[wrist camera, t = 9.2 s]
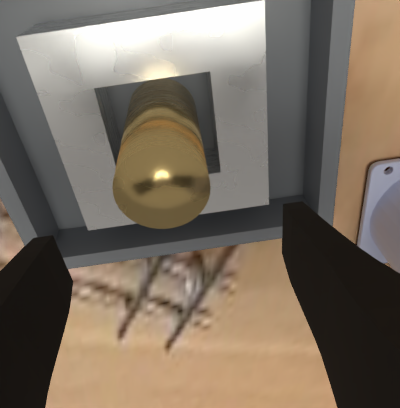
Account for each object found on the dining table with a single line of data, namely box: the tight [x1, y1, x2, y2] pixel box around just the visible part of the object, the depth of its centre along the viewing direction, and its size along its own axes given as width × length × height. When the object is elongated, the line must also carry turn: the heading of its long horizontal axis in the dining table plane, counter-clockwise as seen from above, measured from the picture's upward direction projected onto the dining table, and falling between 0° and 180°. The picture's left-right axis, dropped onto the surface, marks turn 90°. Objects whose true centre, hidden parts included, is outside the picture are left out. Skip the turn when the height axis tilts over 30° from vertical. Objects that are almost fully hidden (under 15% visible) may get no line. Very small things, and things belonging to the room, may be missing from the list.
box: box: [0, 0, 355, 269], centre depth 18 cm, size 16×14×4 cm
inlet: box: [16, 0, 269, 231], centre depth 17 cm, size 9×9×2 cm
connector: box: [112, 78, 211, 229], centre depth 15 cm, size 3×3×7 cm
